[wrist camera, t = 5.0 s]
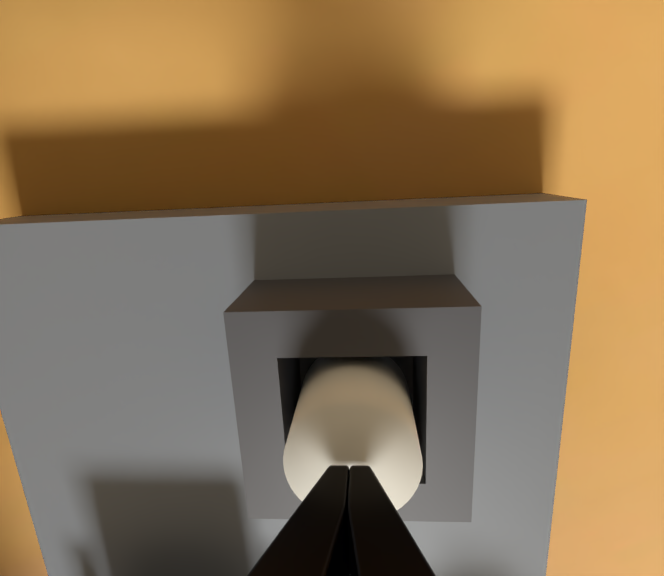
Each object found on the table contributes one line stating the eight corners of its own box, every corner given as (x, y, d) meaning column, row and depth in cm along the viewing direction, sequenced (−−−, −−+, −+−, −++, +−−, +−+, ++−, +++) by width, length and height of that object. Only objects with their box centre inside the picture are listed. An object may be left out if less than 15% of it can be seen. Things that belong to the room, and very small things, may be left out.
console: (506, 691, 21) (559, 889, 15) (131, 673, 23) (53, 846, 17) (549, 192, 15) (669, 210, 9) (21, 216, 16) (-168, 243, 10)
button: (408, 440, 12) (422, 523, 10) (305, 440, 13) (288, 521, 10) (408, 344, 12) (423, 403, 9) (298, 346, 12) (277, 404, 9)
